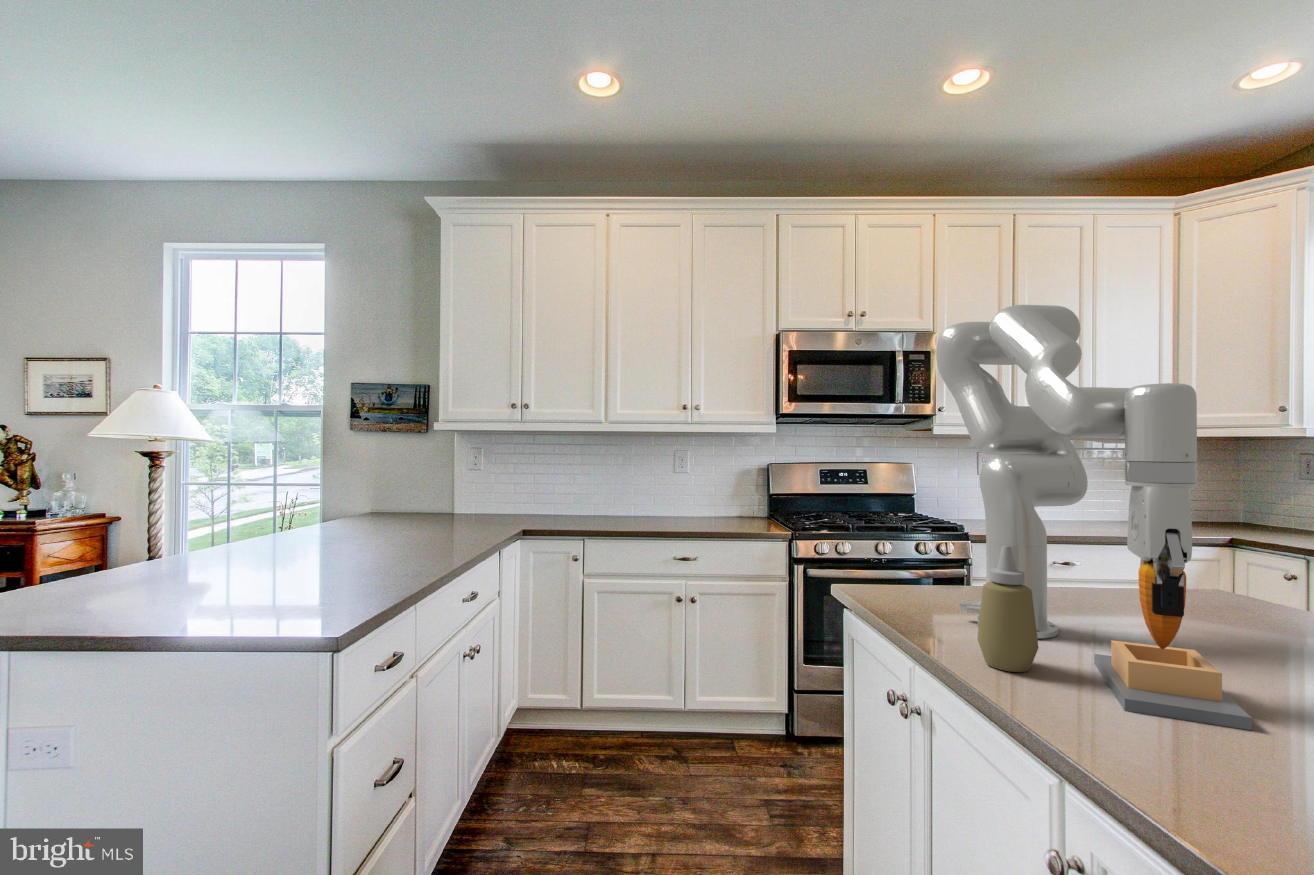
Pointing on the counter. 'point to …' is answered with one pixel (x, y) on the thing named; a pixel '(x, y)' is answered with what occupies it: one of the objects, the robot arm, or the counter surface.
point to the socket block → (1169, 684)
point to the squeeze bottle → (1007, 618)
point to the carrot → (1158, 625)
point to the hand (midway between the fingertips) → (1161, 608)
